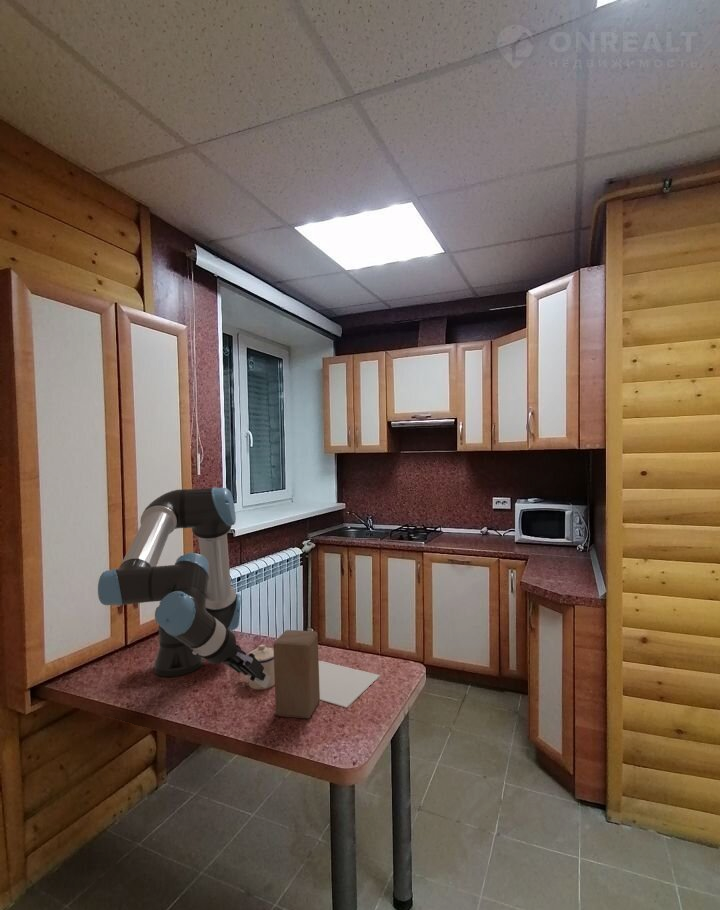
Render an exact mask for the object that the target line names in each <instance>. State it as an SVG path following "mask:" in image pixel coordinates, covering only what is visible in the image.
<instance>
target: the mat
mask: <svg viewBox="0 0 720 910" xmlns="http://www.w3.org/2000/svg"><path fill="white" fill-rule="evenodd" d="M380 677H381V675H380V674H376V673H373V672H368V671H365V670H360V669H356V668H351V667H347V666H344V665H339V664H336V663H332V662H327V661H323V660H319V689H320V699H319V701H321V702H324V703H327V704H328V703H329V704H332V705H335V706H338V707H342V708H345V709H348V708H349V707H350V706H351V705H352V704H354V702H355V701H356V700H358V698H360V697H361V695H363V694H364V693H365V692H366V691H367V690H368V689H369V688H370V687H371V686H372V685H373V684H374V683H375V682H377V681H378V679H379V678H380ZM374 681H375V682H374ZM373 682H374V683H373ZM370 685H371V686H370ZM369 686H370V687H369ZM366 689H367V690H366Z"/></svg>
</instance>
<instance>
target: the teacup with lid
mask: <svg viewBox="0 0 720 910" xmlns="http://www.w3.org/2000/svg"><path fill="white" fill-rule="evenodd" d="M250 653H252V654H253V655H255V658H256V659H257V660H258V661H259V663H260V664H261V665H262V666H263V667H264V670H263V671H264V672H265V673H266V674H268V675H269V676H270V677H271V678H270V680H269V683H268V685H267V687H266V688H264V687H261V686H260V685H259V684H257V683H256V682H255V681H252V680H250V678H249V677H248V676H247V678H248V680H247V681H248V686H249V687H250V688H251V689H252V690H256V691H258V690H267V689H270V688H272V687H275V678H274V649H273V648H272V647H267V646H266V645H265V644H259V645H258V646H257V648H255V649H253V650H251V651H250V652H249V653H248V654H250Z"/></svg>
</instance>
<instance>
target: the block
mask: <svg viewBox="0 0 720 910" xmlns="http://www.w3.org/2000/svg"><path fill="white" fill-rule="evenodd" d="M272 646H273V648H272V649H274V678H275V685H274V701H275V702H274V703H275V704H274V705H275V715H276V716H278V717H289V718H297V719H298V718H299V719H309V718H311V716H312V715H313V713H314V711H315V709H316V708H317V705H318V704H319V701H320V700H319V699H320V689H319V661H320V660H319V634H318V632H317V631H313V630H295V629H293V630H292V629H287V630H284V631H283V632H282V633H281V634H280V635H279V637H278V638H277V639H276V640H275V641H274V642H273V645H272Z"/></svg>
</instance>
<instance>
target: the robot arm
mask: <svg viewBox="0 0 720 910" xmlns="http://www.w3.org/2000/svg"><path fill="white" fill-rule="evenodd" d="M235 524H236V508H235V503H234V497H233V494H232V491H231V490H229V489H228V488H227V487H216V486H214V487H211V488H209V487H208V488H207V487H206V488H188V489H187V488H184V489H175V490H171V491H168V492H166V493H164V494H161V495H160V496H159V497H157V498H156V499H153V501H152V502H150V503H149V504H148V505H147V507H145V509H144V511H143V512H142V514H141V516H140V527H139V528H138V530H137V532H136V534H135V536H134V538H133V540H132V541H131V543H130V546H129V547H128V550H127V552H126V554H125V556H124V558H123V559H122V561H121V563H120V565H119V567H118V569H116V568H113V569H109V570H108V569H107V570H105V571H103V572H102V573H101V575H100V576H99V578H98V583H97V595H98V600H99V602H100V604H102V605H103V606H123V605H132V604H133V605H134V604H142V603H152V602H153V603H154V602H159V605H158V606H157V607H156V609H155V611H154V620H155V622H156V624H157V625H158V643H159V647H158V652H157V654H156V660H155V661H154V665H153V667H154V673H155V674H156V675H157V676H159V677H164V678H173V677H180V676H185V675H187V674H190V673H192V672H195V671H196V670H197V669H199V668H201V666H203V664H204V660H206V661H207V662H208V663H210V664H211V665H218V664H225V665H226V666H227V667H229V668H231V669H232V670H234V672H235V671H236V672H237V673H238V674H243V676H247V678H248V677H249V678H250V680H252V681H255V682H256V683H257V684H259V685H260V686H261V687H264V688H266V687H267V685H268V683H269V680H270V678H271V677H270V676H269V675H268V674H266V673H265V672H264V671H263V670H264V667H263V666H262V665H261V664H260V663H259V661H258V660H257V659H256V658H255V655H253V654H252V653H250V654H249V653H246V652H245V651H244V650H242V648H241V646H239V645H238V644H237V639H236V635H235V633H234V632H232V631H235V630H236V629H238V627H239V625H240V616H241V604H242V596H241V594H240V593H239V594H238V593H237V592H236V590H235V589H234V587H233V586H232V583H231V571H230V557H229V545H228V544H229V543H228V534H229V532H230V531H231V530H232V526H233V525H235ZM175 529H191V531H192V534H193V536H195V537H196V538H198V547H199V553H196V552H187V553H184V554H183V555H180V556H179V557H178V558H177V559H176V560H175V563H174V564H171V565H170V564H169V565H159V566H157V565H158V563H159V560H160V557H161V555H162V553H163V550H164V547H165V545H166V544H167V540H168V537H169V535H170V534H172V533H173V532H174V530H175Z"/></svg>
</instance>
